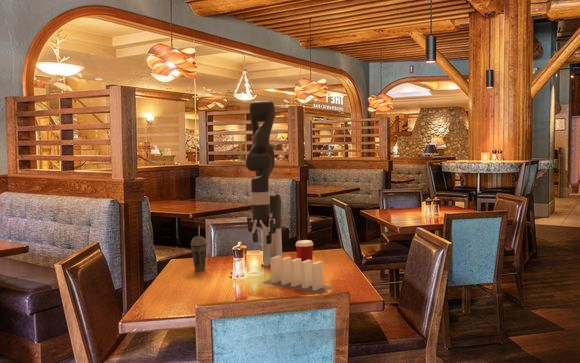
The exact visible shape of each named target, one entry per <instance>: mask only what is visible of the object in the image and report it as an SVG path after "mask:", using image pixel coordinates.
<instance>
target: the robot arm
mask: <svg viewBox="0 0 580 363" xmlns="http://www.w3.org/2000/svg"><path fill="white" fill-rule="evenodd" d="M274 104H275V103H274V102H273V101H272V100H255V101H251V102H249V117H250V118H249V119H250V125H251V133H252V141H251V142H252V143H251V148H250V150H249V152H248V153H247V156H246V159H245V167H246V170H248V171H250V172H255V176H254V177H253V178H252V179H251V181H250V186H251V195H250V196H251V197H250V199H251V200H250V201H251V214H252V216H249V217H247V218H246V223H247V231H248V232H249V233H251V235H252V241H253V243H259V233H258V232H259V229H260V231H261V232H260V233H261V234H260V235H261V243H260V244H259V248H260V250H259V251H263V262H264V267H271V260H270V258H272V257H275V256H281V259H283V244H282V242H283V241H282V199H281V198H282V197H281V195H280V194H279V193H278V192H277V193H275V192H273V193H272V192H271V193H270V190H269V189H270V188H269V185H270V184H269V180H270V179H269V178H270V176H271V174H272V172H273V170H274V168H275V164H276V163H275V162H276V161H275V151H274V148H273V146H272V144H271V143H270V137H271V132H272V129H273V126H274V122H275V121H274V120H275V116H276V107H275V105H274ZM259 123H263V124H261V125H260V124H259ZM270 215H271V217H270Z"/></svg>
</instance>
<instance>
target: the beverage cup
mask: <svg viewBox="0 0 580 363" xmlns="http://www.w3.org/2000/svg"><path fill="white" fill-rule="evenodd" d="M200 227H201V226H200V225H198V235H196V236H194V237H193V238H192V239H191V242H190V248H191V253H192V260H193V261H192V262H193V268H194V271H195V272H203V271H205V270H206V257H207V256H206V255H207V245H208V243H207V241H206V239H205V237H203V236H201V235H200V230H201V228H200Z"/></svg>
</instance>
